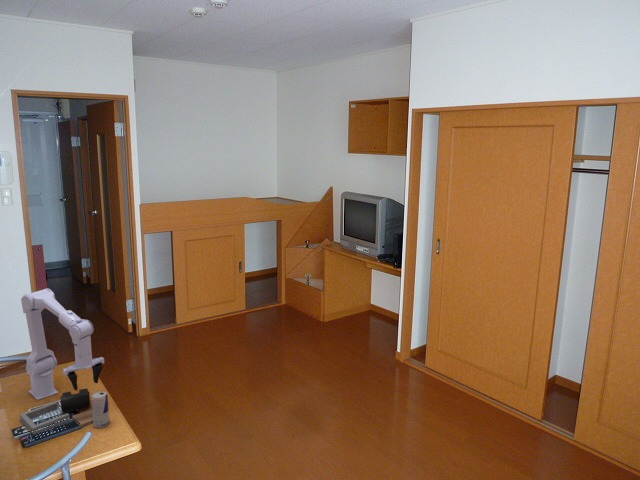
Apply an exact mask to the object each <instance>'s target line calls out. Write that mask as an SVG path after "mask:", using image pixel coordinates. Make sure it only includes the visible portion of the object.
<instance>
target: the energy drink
mask: <svg viewBox="0 0 640 480" xmlns="http://www.w3.org/2000/svg"><path fill="white" fill-rule="evenodd" d="M91 409H92V411H93V423H92V424H93V427H94V428H96V429H97V428H98V429H102V428H105V427H107V426H108V425H109V423H110V413H109V412H110V411H109V409H110V408H109V396H108V393H107V391H104V390H100V391H95V392H94V393H93V394H92V395H91Z"/></svg>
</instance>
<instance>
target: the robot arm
mask: <svg viewBox="0 0 640 480" xmlns="http://www.w3.org/2000/svg"><path fill="white" fill-rule="evenodd" d="M20 302H21V306H22V307H21V308H22V312H23V314H25V319H26V323H27V329H28V330H27V331H28V334H29V340H30V346H31V352H30V354H29V355H28V356H27V357H26V365H25V370H26V372H27V374H28V375H29V376H30V388H31V389H29V391H28V392H29V394H30V395H32V397H34V398H35V400H37V401H38V400H41V399H44V398H45V399H46V398H47V397H50V396H53V395H56V394H59V391H58V390H57V389H56V388H55V386H54V374H53V373H54V371H55V369H56V367H57V365H58V360H57V358H56V357H55V353H54V351H53V350H51V349H49V348H48V346H47V341H46V336H45V330H44V329H45V328H44V324H43V323H44V322H43V317H42V312H43V310H44V309H46V310H48V311H49V312H50V313H52V314H53V315H55V316H56V317H58V322H59V323H60V324H61V325H62V326H63V327H64V328H65V329H66V330H67V331H68V333H69V335H70V338H71V342H72V344H73V348H74V349H73V350H74V358H75V359H74V360H75V363H73V364H72V365H69V366H67V367H65V368H63V369H62V370H63V372H62V373H63V375H64V376H67V377H68V379H69V381H70V383H71V385H72V388H73V389H74V391H78V390H79V389H78V375H77V374H76V373H77V372H78V371H81V370H84V369H85V370H88V369H92V377H93V378H92V379H93V382H94V383H95V384H98V383H99V378H100V375H101V372H102V370H103V369H104V365H103V364H105V358H104V357H102V356H100V357H95V358H93V353H92V339H91V335H93V333H94V325H93V323H92V322H91V321H90V320H88V319H82V318H81V317H80V316H78V315H77V314H76V313H75V312H73V311H72V310H71V309H69V310H66V308H64V306H63V305H62V304H60V303H59V301H57V299H56V296H55V293H54V292H53V290H51V289H50V288H48V287H46V288H44V289H40V290H37V291H34V292H30V293H25V294H23V295H22V297H21V299H20Z"/></svg>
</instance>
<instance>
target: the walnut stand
mask: <svg viewBox="0 0 640 480" xmlns="http://www.w3.org/2000/svg"><path fill="white" fill-rule="evenodd" d="M77 418H78V419H77ZM71 419H72V420H73V421H74V422H75V423H76V424H77V425H78V426H79V427H80V428H85V427H87V426H89V425H91V424H93V411H92V408H88V409H86V410H85V411H81V412H78V413H77V414H74V415H71ZM75 419H77V421H78V420H79V421H78V422H79V423H80V424H79V423H78V422H77V421H76V420H75Z"/></svg>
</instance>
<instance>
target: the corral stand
mask: <svg viewBox="0 0 640 480" xmlns="http://www.w3.org/2000/svg"><path fill="white" fill-rule="evenodd" d="M56 410H58V403H57V401H54V402H51V403H48V404H45V405H42V406H40V407H37V408H34V409H31V410H28V411H25V412H23V413H20V414H19V421H20V422H21V423H22V424H23V425H24V426H25V428H27V430H28V431H29V432H30V433H31V434H32V435H36V434H40V433H42V432H45V431H47V430H50V429H52V428H56V427H58V426H60V425H62V424H65V423H68V422H70V421H71V417H70V413H69V412H66V413H64V414H62V415H59V416H57V417H54V418H51V419H49V420H48V419H47V420H46V421H43V422H40V423H37V424H35V423H34V422H33V420H31V419H34V418H37V417H40V416H41V415H46V414H47V413H50V412H54V411H56ZM38 413H39V414H38ZM68 418H69V419H68ZM64 419H66V420H64ZM62 420H64V421H62ZM58 421H61V422H59V423H56V422H58ZM53 423H56V424H54V425H51V426H48V425H50V424H53ZM45 426H48V427H46V428H43V429H41V430H38V429H40V428H42V427H45ZM31 430H32V431H33V432H32V431H31ZM36 430H38V431H36ZM34 431H35V432H34Z"/></svg>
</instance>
